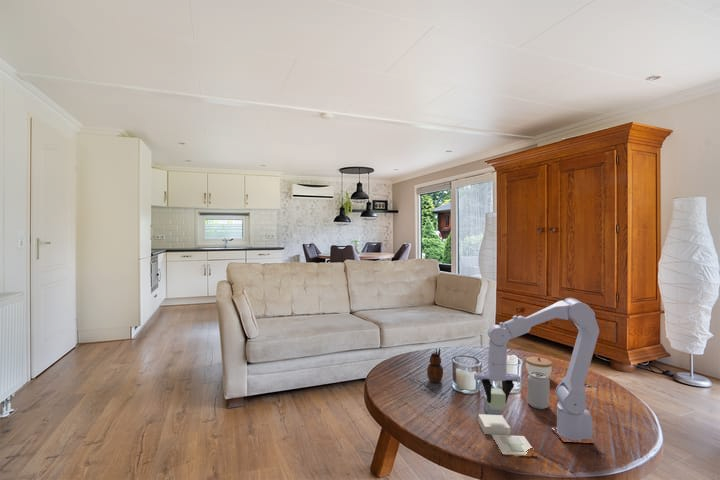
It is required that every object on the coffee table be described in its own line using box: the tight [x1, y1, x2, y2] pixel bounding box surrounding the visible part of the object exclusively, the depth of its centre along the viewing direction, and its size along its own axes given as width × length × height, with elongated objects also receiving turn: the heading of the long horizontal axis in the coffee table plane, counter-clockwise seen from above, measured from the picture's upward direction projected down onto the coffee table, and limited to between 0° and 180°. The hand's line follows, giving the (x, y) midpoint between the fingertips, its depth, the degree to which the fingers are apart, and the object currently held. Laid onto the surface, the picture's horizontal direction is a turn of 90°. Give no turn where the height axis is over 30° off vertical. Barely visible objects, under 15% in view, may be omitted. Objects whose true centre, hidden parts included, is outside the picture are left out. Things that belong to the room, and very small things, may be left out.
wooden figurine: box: [426, 347, 444, 384], centre depth 158 cm, size 7×6×15 cm
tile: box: [491, 434, 533, 455], centre depth 110 cm, size 10×10×1 cm
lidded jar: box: [525, 356, 553, 378], centre depth 164 cm, size 11×11×9 cm
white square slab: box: [477, 413, 511, 436], centre depth 120 cm, size 8×8×3 cm
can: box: [526, 372, 551, 410], centre depth 136 cm, size 8×8×12 cm
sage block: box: [488, 388, 507, 411], centre depth 121 cm, size 4×4×5 cm
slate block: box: [483, 394, 501, 415], centre depth 132 cm, size 4×4×5 cm
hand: (496, 401), depth 121 cm, fingers closed on sage block, 4 cm apart
